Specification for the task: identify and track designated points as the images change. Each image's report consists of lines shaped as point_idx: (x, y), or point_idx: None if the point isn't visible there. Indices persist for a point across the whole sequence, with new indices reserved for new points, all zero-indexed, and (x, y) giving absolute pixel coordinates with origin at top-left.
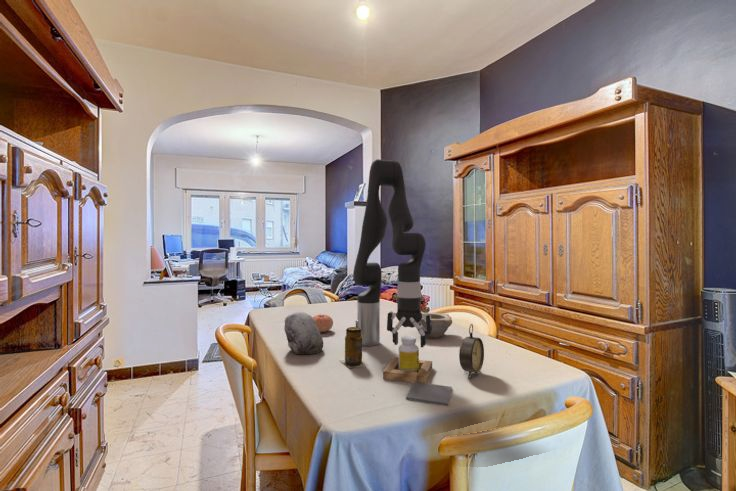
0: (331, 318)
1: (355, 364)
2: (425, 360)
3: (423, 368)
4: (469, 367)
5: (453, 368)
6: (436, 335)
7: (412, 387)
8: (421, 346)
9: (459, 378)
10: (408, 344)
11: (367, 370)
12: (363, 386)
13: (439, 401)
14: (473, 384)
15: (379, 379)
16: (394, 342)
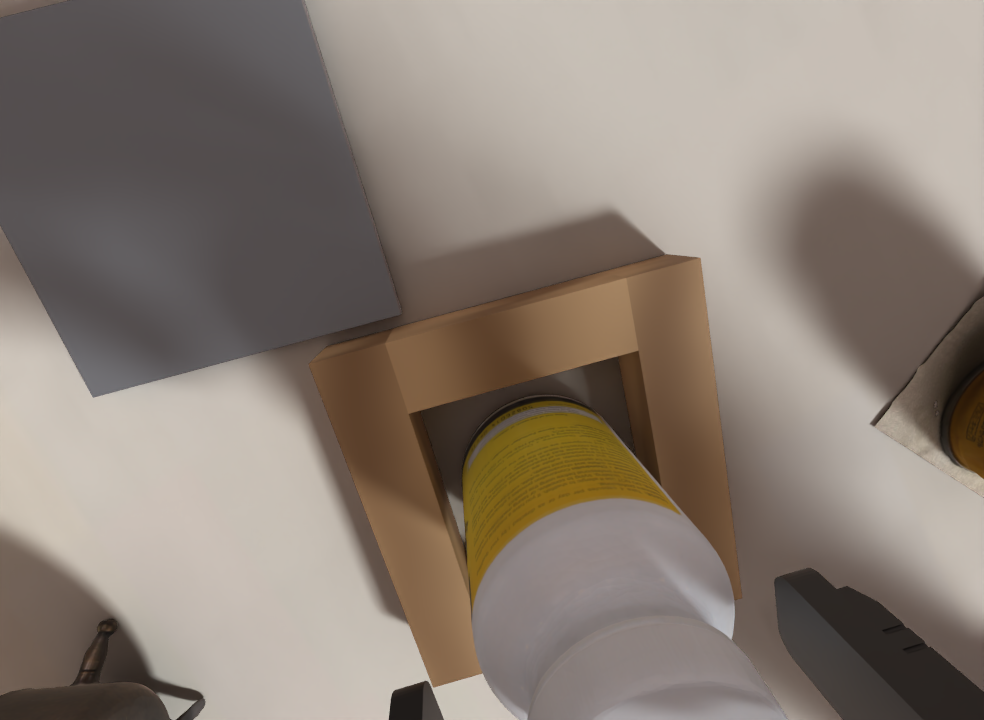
0: None
1: (975, 372)
2: None
3: (415, 519)
4: (15, 701)
5: (308, 715)
6: None
7: (350, 190)
8: (409, 691)
9: (174, 593)
10: (597, 626)
11: (845, 334)
12: (743, 4)
13: None
14: (26, 556)
15: (686, 226)
16: (833, 588)
